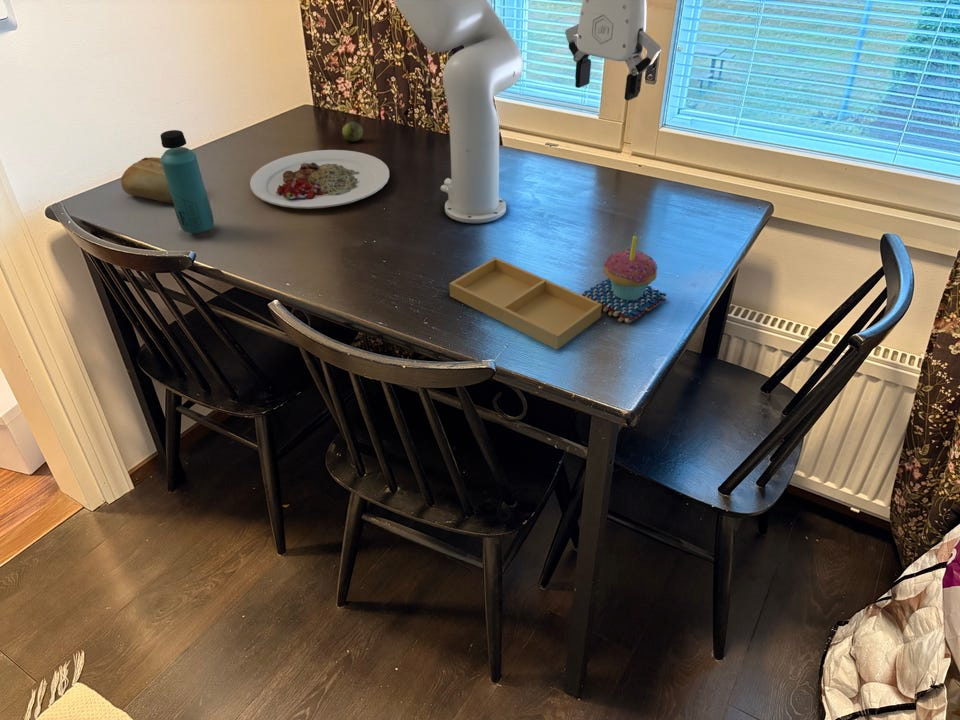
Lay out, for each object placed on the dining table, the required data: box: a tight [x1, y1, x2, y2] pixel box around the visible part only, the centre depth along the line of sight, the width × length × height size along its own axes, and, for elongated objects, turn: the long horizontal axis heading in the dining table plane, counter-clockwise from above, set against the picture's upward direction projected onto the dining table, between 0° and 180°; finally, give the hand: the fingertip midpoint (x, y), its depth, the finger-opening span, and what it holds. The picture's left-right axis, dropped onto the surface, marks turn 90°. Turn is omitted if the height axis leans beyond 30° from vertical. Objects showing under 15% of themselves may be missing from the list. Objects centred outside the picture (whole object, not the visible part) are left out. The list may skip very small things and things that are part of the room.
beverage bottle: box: [160, 129, 215, 234], centre depth 134 cm, size 6×7×20 cm
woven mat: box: [581, 277, 667, 324], centre depth 119 cm, size 10×11×2 cm
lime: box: [341, 121, 364, 143], centre depth 176 cm, size 4×5×5 cm
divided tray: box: [449, 256, 603, 351], centre depth 118 cm, size 23×12×3 cm, turn 48°
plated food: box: [249, 149, 390, 209], centre depth 156 cm, size 30×30×3 cm
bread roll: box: [120, 157, 174, 204], centre depth 150 cm, size 10×15×8 cm, turn 75°
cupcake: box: [603, 232, 659, 300], centre depth 115 cm, size 9×8×12 cm
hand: (606, 91), depth 118 cm, fingers open, 9 cm apart
